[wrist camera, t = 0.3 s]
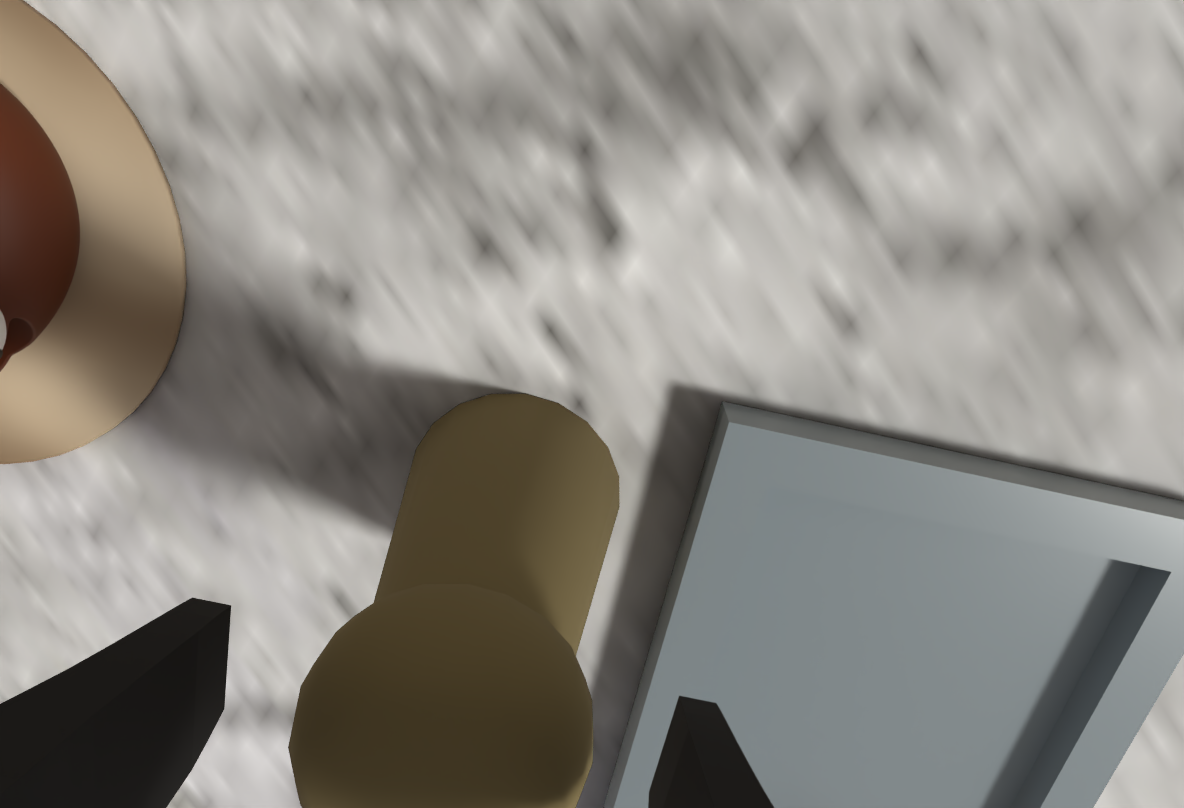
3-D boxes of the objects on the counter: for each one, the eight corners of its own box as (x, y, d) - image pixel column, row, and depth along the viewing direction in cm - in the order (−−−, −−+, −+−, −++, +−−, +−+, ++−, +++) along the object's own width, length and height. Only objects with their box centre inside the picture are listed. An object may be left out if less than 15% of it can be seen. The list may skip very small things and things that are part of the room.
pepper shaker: (366, 493, 23) (153, 811, 12) (505, 348, 21) (392, 577, 11) (522, 618, 24) (446, 999, 14) (664, 492, 22) (700, 818, 12)
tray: (947, 982, 29) (964, 1027, 27) (572, 911, 28) (569, 953, 27) (1213, 507, 22) (1253, 534, 20) (722, 401, 21) (729, 422, 20)
